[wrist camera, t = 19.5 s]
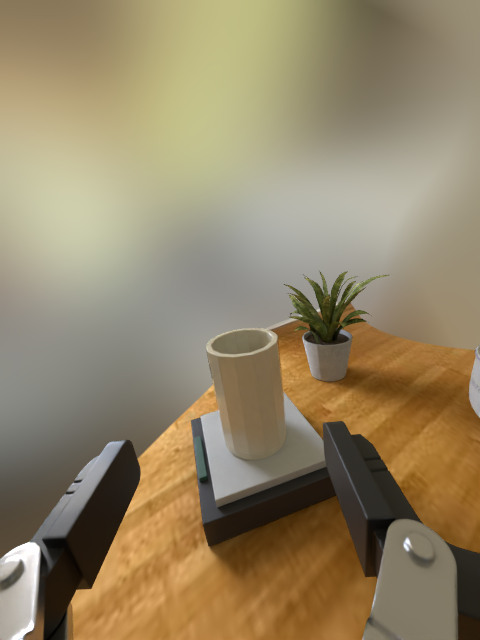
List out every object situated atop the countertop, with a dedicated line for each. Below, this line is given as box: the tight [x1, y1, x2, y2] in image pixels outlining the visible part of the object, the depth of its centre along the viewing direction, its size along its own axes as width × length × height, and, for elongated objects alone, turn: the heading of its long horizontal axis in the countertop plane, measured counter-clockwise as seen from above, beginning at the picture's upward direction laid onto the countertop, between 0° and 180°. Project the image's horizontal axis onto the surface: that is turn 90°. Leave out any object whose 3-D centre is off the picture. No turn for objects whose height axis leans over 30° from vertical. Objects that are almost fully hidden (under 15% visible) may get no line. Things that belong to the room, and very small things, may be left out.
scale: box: [191, 393, 336, 547], centre depth 25 cm, size 12×12×3 cm
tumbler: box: [206, 328, 287, 460], centre depth 23 cm, size 6×6×10 cm
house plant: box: [284, 272, 387, 382], centre depth 37 cm, size 14×14×16 cm
